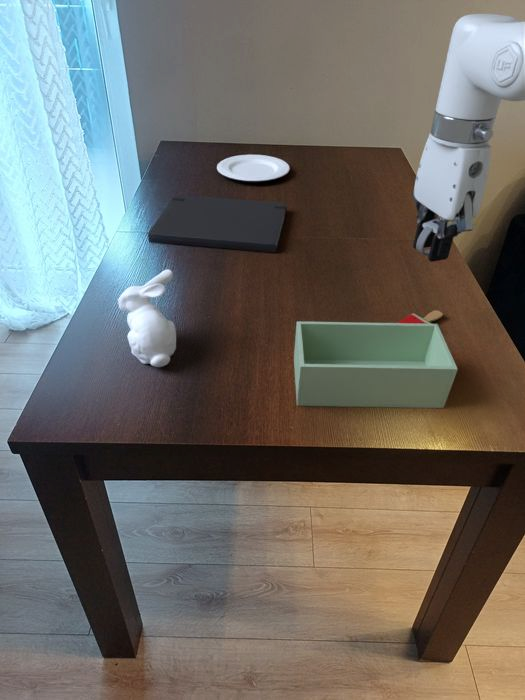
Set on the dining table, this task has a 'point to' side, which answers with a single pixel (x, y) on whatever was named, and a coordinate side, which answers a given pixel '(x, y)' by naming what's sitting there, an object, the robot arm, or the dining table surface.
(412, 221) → the dining table surface
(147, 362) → the rabbit
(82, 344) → the dining table surface
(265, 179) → the plate
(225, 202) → the notebook
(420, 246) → the wristwatch
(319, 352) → the bin
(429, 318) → the popsicle
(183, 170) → the dining table surface
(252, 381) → the dining table surface
